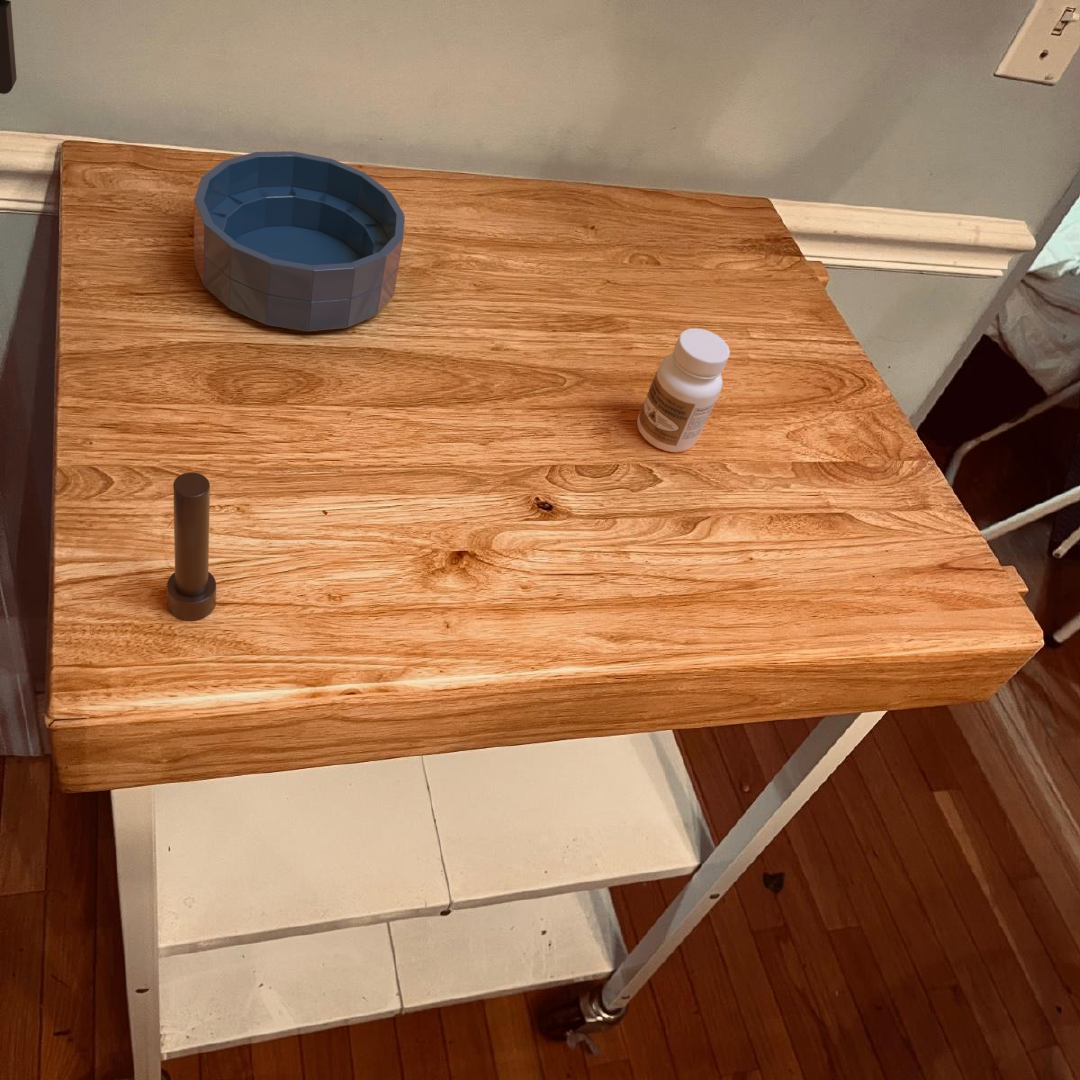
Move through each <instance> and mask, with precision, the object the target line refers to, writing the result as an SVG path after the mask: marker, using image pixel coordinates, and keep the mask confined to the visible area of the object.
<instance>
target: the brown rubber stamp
mask: <svg viewBox="0 0 1080 1080" xmlns="http://www.w3.org/2000/svg"><path fill="white" fill-rule="evenodd" d="M172 485H173V487H172V489H173V493H172V494H173V537H174V538H173V541H174V545H173V547H174V572H173V573H172V574H171V575H170V576H169V578H168V579H167V582H166V600H167V601H166V602H167V603H166V604H167V608H168V610H169V612H170V613H171V614H172V615H173V616H175V617H176V618H178V619H180V620H183V621H188V622H189V621H194V622H195V621H199V620H202V619H205V618H207V617H208V616H209V615H210V614H211V613H213V611H214V610H215V608H216V604H217V582H216V579H215V577H214V575H213V574H212V573H211V572H210V571H209V563H210V562H209V559H210V558H209V557H210V556H209V555H210V509H211V508H210V505H211V504H210V503H211V502H210V501H211V499H210V498H211V497H210V496H211V484H210V481H209V479H208V478H207V477H206V476H205V475H203V474H202V473H199V472H195V471H188V472H184V473H181V474H179V475H178V476H177V477H176V478H175V479H174V481H173V483H172Z"/></svg>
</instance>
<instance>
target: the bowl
mask: <svg viewBox="0 0 1080 1080" xmlns="http://www.w3.org/2000/svg"><path fill="white" fill-rule="evenodd" d="M193 209H194V210H193V264H194V265H195V268H196V270H197V274H198V276H199V278H200V281H201V283H202V286H203V287H204V288H205V289H206V290H207V291H209V293H210V294H212V295H213V296H214V297H215V298H216V299H217V300H219V301H220V302H221V303H222V304H223V305H224V306H225V307H227V308H228V309H229V310H230V311H233V312H235V313H237V314H239V315H242V316H244V317H246V318H249V319H251V320H254V321H256V322H258V323H261V324H263V325H265V326H270V327H277V328H282V329H289V330H295V331H296V330H297V331H302V332H315V331H318V332H319V331H327V330H340V329H346V328H350V327H353V326H355V325H357V324H360V323H362V322H364V321H366V320H369V319H371V318H374V317H377V316H378V314H379V313H380V312H381V311H382V310H383V309H384V307H385V306H386V305H387V304H388V303H389V302H390V300H391V299H392V298H393V297H394V296H395V291H396V290H395V289H396V284H397V278H398V272H399V266H400V261H401V253H402V248H403V241H404V235H405V222H406V221H405V220H406V215H405V213H404V212H403V210H402V208H401V207H400V204H399V203H398V201H397V200H396V198H395V195H394V194H393V193H392V192H391V191H390V190H388V189H387V188H386V187H384V185H382V184H380V182H378V181H377V180H375V179H374V178H373V177H371V176H370V175H369V174H367V173H366V172H364V171H362V170H360V169H357V168H354V167H353V166H350V165H347V164H345V163H343V162H341V161H338V160H336V159H334V158H330V157H324V156H319V155H314V154H309V153H304V152H298V151H293V150H292V151H291V150H290V151H283V150H282V151H253V152H250V153H246V154H242V155H239V156H234V157H232V158H227V159H224V160H222V161H221V162H219V163H218V164H217V165H216V166H214V167H213V168H212V169H210V170H209V171H207V172H206V173H205V174H203V175H202V176H201V177H200V180H199V182H198V186H197V189H196V192H195V196H194V198H193Z"/></svg>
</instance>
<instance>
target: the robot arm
mask: <svg viewBox="0 0 1080 1080" xmlns="http://www.w3.org/2000/svg"><path fill="white" fill-rule="evenodd" d="M13 26H14V25H13V14H12V1H11V0H0V94H1V95H7V94H9V93H10V92H11V91H12V90H13V88H14V86H15V84H16V82H17V77H18V76H17V66H16V65H17V64H16V53H15V52H16V51H15V40H14V39H15V38H14V27H13Z"/></svg>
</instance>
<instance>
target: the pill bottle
mask: <svg viewBox="0 0 1080 1080" xmlns="http://www.w3.org/2000/svg"><path fill="white" fill-rule="evenodd" d="M730 354H731V351H730V347H729V345H728V343H727V342H726V341H725V340H724V339H723V338H722V337H721V336H720V335H718V334H716V333H715V332H713V331H710V330H707V329H704V328H699V327H697V328H696V327H695V328H694V327H692V328H687V329H685V330H683V331H682V332H681V333H680V335H679V336H678V338H677V340H676V343H675V345H674V347H673V351H672V353H671V354H667V356H665V357H664V358H663V359H662V360H661V361H660V364H659V365H658V367H657V369H656V372H655V374H654V377H653V379H652V382H651V385H650V386H649V389H648V391H647V394H646V397H645V399H644V400H643V403H642V406H641V409H640V411H639V413H638V415H637V420H636V425H637V429H638V431H639V433H640V434H641V436H642V437H643V438H644V440H646V442H648V444H651V445H652V446H653V447H655V448H657V449H659V450H662V451H665V452H668V453H682V452H686V451H688V450H690V449H692V448H693V447H694V446H695V445H696V443H697V441H698V440H699V438H700V435H701V434H702V431H703V430H704V428H705V425H706V423H707V421H708V419H709V417H710V416H711V413H712V411H713V409H714V407H715V405H716V403H717V400H718V399H719V396H720V394H721V391H722V389H723V377H722V373H723V371H724V370H725V367H726V365H727V363H728V361H729V358H730Z"/></svg>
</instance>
